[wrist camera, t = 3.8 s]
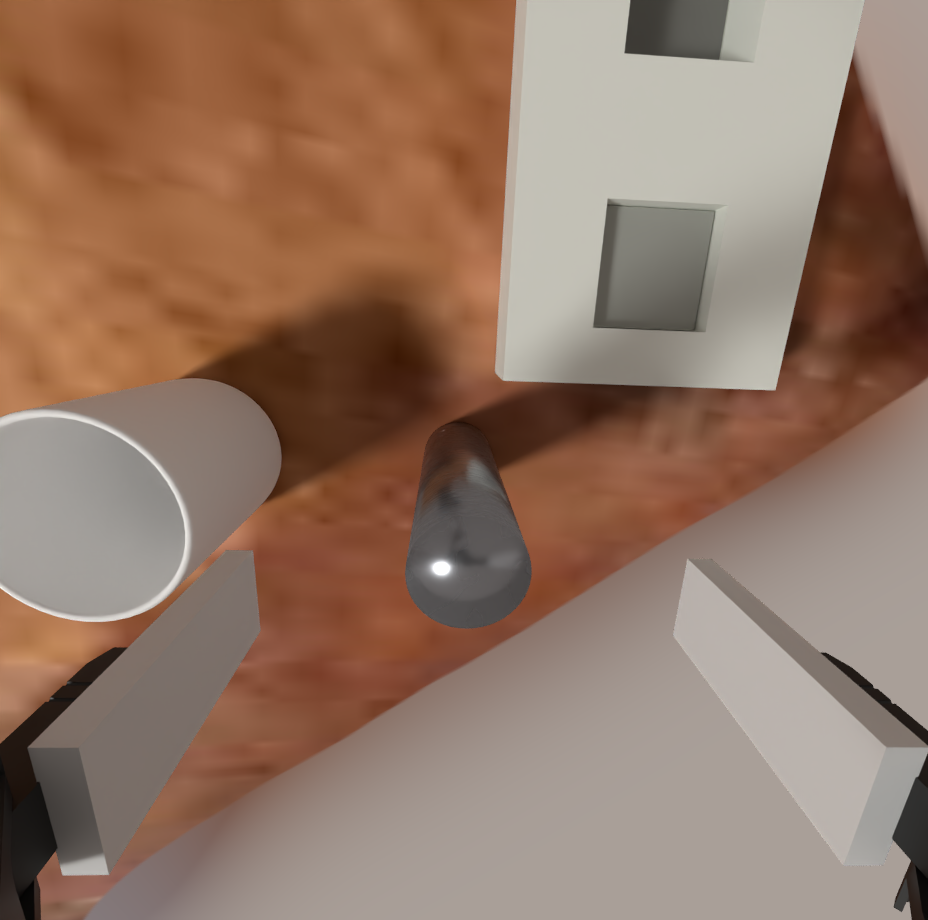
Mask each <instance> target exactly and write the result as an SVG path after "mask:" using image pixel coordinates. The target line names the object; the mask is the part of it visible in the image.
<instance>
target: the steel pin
mask: <svg viewBox="0 0 928 920" xmlns="http://www.w3.org/2000/svg"><path fill="white" fill-rule="evenodd" d="M405 576H406V584H407V588H408V591H409V594H410V596H411V598H412V599H413V601H414V603H415V604H416V605H417V607H418V608H419V609H420V610H421V611H422V612H423V613H424V614H426V615H427V616H428V617H430V618H431V619H433V620H435V621H437V622H439V623H441V624H444V625H447V626H450V627H456V628H478V627H483V626H487V625H490V624H493V623H495V622H497V621H499V620H501V619H503V618H504V617H506V616H507V615H509V614H510V613H511V612H512V611H513V610H514V609H516V607H517V606H518V605H519V604H520V603H521V601H522V600H523V598H524V597H525V595H526V593H527V590H528V588H529V585H530V580H531V561H530V557H529V554H528V551H527V548H526V546H525V543H524V540H523V537H522V535H521V532H520V529H519V526H518V523H517V521H516V518H515V515H514V512H513V510H512V507H511V504H510V501H509V499H508V496H507V493H506V490H505V488H504V485H503V482H502V479H501V477H500V474H499V471H498V468H497V466H496V463H495V460H494V457H493V455H492V452H491V449H490V446H489V444H488V441H487V439H486V437H485V436H484V435H483V433H482V432H481V431H480V430H479V429H477V428H476V427H474V426H472V425H470V424H467V423H462V422H453V423H448V424H445V425H443V426H441V427H439V428H438V429H437V430H435V431H434V432H433V433H432V435H431V436H430V437H429V439H428V441H427V444H426V447H425V452H424V458H423V464H422V470H421V477H420V483H419V489H418V495H417V501H416V507H415V513H414V519H413V526H412V532H411V538H410V544H409V550H408V556H407V562H406V571H405Z"/></svg>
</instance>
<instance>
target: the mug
mask: <svg viewBox="0 0 928 920" xmlns="http://www.w3.org/2000/svg"><path fill="white" fill-rule="evenodd" d="M281 460H282V456H281V446H280V442H279V438H278V435H277V432H276V430H275V428H274V426H273V424H272V422H271V420H270V419H269V417H268V416H267V414H266V413H265V412H264V411H263V410H262V408H261V407H260V406H259V405H258V404H257V403H256V402H255V401H254V400H253V399H251V398H250V397H249V396H247V395H246V394H245V393H243V392H241V391H239V390H238V389H236V388H234V387H232V386H229V385H227V384H224V383H221V382H218V381H213V380H208V379H200V378H187V379H176V380H170V381H165V382H161V383H156V384H151V385H146V386H141V387H136V388H131V389H126V390H121V391H116V392H111V393H106V394H102V395H97V396H92V397H87V398H82V399H77V400H72V401H67V402H62V403H57V404H52V405H47V406H43V407H38V408H33V409H28V410H23V411H19V412H14V413H10V414H8V415H5V416H3V417H0V588H1V589H2V590H4V591H5V592H7V593H8V594H9V595H11V596H12V597H14V598H16V599H17V600H19V601H21V602H23V603H24V604H26V605H28V606H30V607H33V608H35V609H37V610H39V611H42V612H45V613H48V614H51V615H54V616H57V617H61V618H66V619H70V620H77V621H85V622H104V621H115V620H119V619H124V618H128V617H131V616H134V615H137V614H140V613H143V612H145V611H147V610H149V609H151V608H153V607H155V606H156V605H158V604H159V603H160V602H162V601H163V600H165V599H166V598H167V597H168V596H169V595H170V594H171V593H172V592H173V591H174V590H175V589H176V588H177V587H178V586H179V585H180V584H181V583H182V582H183V581H184V580H185V579H186V578H187V577H188V576H189V575H190V574H191V573H192V572H194V571H195V570H196V569H197V568H198V567H199V566H200V565H201V564H202V563H203V562H204V561H205V560H206V559H207V558H208V557H209V556H210V555H211V554H212V553H213V552H214V551H215V550H216V549H217V548H218V547H219V546H220V545H221V544H222V543H223V542H224V541H225V540H226V539H227V538H228V537H229V536H230V535H231V534H232V533H233V532H234V531H235V530H236V529H237V528H238V527H239V526H240V525H241V524H242V523H243V522H244V521H246V520H247V519H248V518H249V517H250V516H251V515H252V514H253V513H254V512H255V511H256V510H257V509H258V508H259V507H260V506H261V505H262V504H263V502H264V501H265V500H266V499H267V497H268V496H269V495H270V494H271V492H272V490H273V488H274V487H275V485H276V482H277V479H278V477H279V473H280V469H281Z"/></svg>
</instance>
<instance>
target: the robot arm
mask: <svg viewBox="0 0 928 920" xmlns="http://www.w3.org/2000/svg"><path fill="white" fill-rule="evenodd" d="M259 633H260V621H259V611H258V600H257V590H256V579H255V568H254V558H253V551H249V550H226V551H225V552H224V553H223V554H222V555H221V556H220V557H219V558H218V559H217V560H216V561H215V562H214V563H213V564H212V565H211V566H210V567H209V568H208V569H207V570H206V571H205V572H204V573H203V574H202V575H201V576H200V577H199V578H198V579H197V580H196V581H195V582H194V583H193V584H192V585H191V586H190V587H189V588H188V589H187V590H186V591H185V592H184V593H183V594H182V595H181V596H180V597H179V598H178V599H177V600H176V601H175V602H174V603H173V604H172V605H171V606H169V607H168V608H167V609H166V610H165V611H164V612H163V613H162V614H161V615H160V616H159V617H158V618H157V619H156V620H155V621H154V622H153V623H152V624H151V625H150V626H149V627H148V628H147V629H146V630H145V631H144V632H143V633H142V634H141V635H140V636H139V637H138V638H137V639H136V640H135V641H134V642H133V643H132V644H131V645H130V646H129V647H128V648H116V647H114V648H112V649H111V650H109V651H107V652H105V653H104V654H102V655H100V656H99V657H97V658H95V659H94V660H92V661H90V662H89V663H87V664H86V665H85V666H84V667H83V668H82V669H81V670H80V671H78V672H77V673H76V674H75V675H74V676H73V677H72V678H71V679H70V680H69V681H68V682H67V685H66V686H62V687H61V688H60V689H59V690H58V691H57V692H56V693H55V694H54V695H53V696H51V697H50V700H49V702H45V703H44V704H43V705H42V706H41V707H40V708H38V709H37V710H36V711H35V712H34V713H33V714H32V715H31V716H30V717H29V718H28V719H27V720H25V721H24V722H23V723H22V724H21V725H20V726H19V727H18V728H17V729H16V730H15V731H14V732H13V733H11V734H10V735H9V736H8V737H7V738H6V739H5V740H4V741H3V742H2V743H1V744H0V920H41V907H40V887H39V884H38V881H37V877H36V876H37V875H38V873H39V872H40V871H41V869H42V868H43V867H44V865H45V864H46V863H47V861H48V860H49V859H50V857H51V856H52V855H53V853H54V852H55V851H56V853H57V857H58V860H59V864H60V867H61V871H62V875H109V874H110V872H111V871H112V869H113V867H114V866H115V864H116V863H117V861H118V859H119V858H120V856H121V855H122V853H123V851H124V850H125V848H126V847H127V845H128V843H129V842H130V840H131V838H132V837H133V835H134V834H135V832H136V830H137V829H138V827H139V826H140V824H141V822H142V821H143V819H144V818H145V816H146V814H147V813H148V811H149V810H150V808H151V806H152V805H153V803H154V801H155V800H156V798H157V797H158V795H159V793H160V792H161V790H162V789H163V787H164V785H165V784H166V782H167V781H168V779H169V777H170V776H171V774H172V773H173V771H174V769H175V768H176V766H177V764H178V763H179V761H180V760H181V758H182V756H183V755H184V753H185V752H186V750H187V748H188V747H189V745H190V744H191V742H192V740H193V739H194V737H195V736H196V734H197V732H198V731H199V729H200V727H201V726H202V724H203V723H204V721H205V719H206V718H207V716H208V715H209V713H210V711H211V710H212V708H213V707H214V705H215V703H216V702H217V700H218V698H219V697H220V695H221V694H222V692H223V690H224V689H225V687H226V686H227V684H228V682H229V681H230V679H231V678H232V676H233V674H234V673H235V671H236V670H237V668H238V666H239V665H240V663H241V661H242V660H243V658H244V657H245V655H246V653H247V652H248V650H249V649H250V647H251V645H252V644H253V642H254V641H255V639H256V637H257V636H258V634H259ZM673 636H674V638H675V639H676V640H677V642H678V643H679V644H680V645H681V647H682V648H683V650H684V651H685V653H686V654H687V655H688V657H689V658H690V659H691V661H692V662H693V663H694V665H695V666H696V667H697V669H698V670H699V671H700V673H701V674H702V675H703V677H704V678H705V680H706V681H707V682H708V683H709V685H710V686H711V688H712V689H713V690H714V692H715V693H716V694H717V696H718V697H719V698H720V700H721V701H722V702H723V704H724V705H725V707H726V708H727V709H728V710H729V712H730V713H731V715H732V716H733V717H734V719H735V720H736V721H737V723H738V724H739V725H740V727H741V728H742V729H743V731H744V732H745V733H746V735H747V736H748V738H749V739H750V740H751V742H752V743H753V744H754V745H755V747H756V748H757V750H758V751H759V752H760V754H761V755H762V756H763V758H764V759H765V761H766V762H767V763H768V765H769V766H770V767H771V769H772V770H773V771H774V773H775V774H776V775H777V777H778V778H779V779H780V781H781V782H782V783H783V784H784V786H785V787H786V789H787V790H788V791H789V793H790V794H791V796H792V797H793V798H794V800H795V801H796V802H797V804H798V805H799V806H800V808H801V809H802V810H803V812H804V813H805V815H806V816H807V817H808V819H809V820H810V821H811V823H812V824H813V825H814V827H815V828H816V829H817V831H818V832H819V833H820V835H821V836H822V837H823V839H824V840H825V842H826V843H827V844H828V846H829V847H830V848H831V850H832V851H833V852H834V854H835V855H836V856H837V858H838V859H839V860H840V862H841V863H842V864H843V866H867V865H869V866H871V865H883V864H884V862H885V860H886V857H887V855H888V852H889V849H890V847H891V844H892V842H893V840H894V841H895V842H896V844H897V845H898V846H899V847H900V848H901V849H902V850H903V852H905V854H906V855H907V856H908V857H909V858H910V860H911V862H910V865H909V867H908V869H907V872H906V874H905V876H904V879H903V881H902V884H901V886H900V888H899V891H898V893H897V896H896V899H895V904H894V908H896V909H898V910H899V911H901V912H902V911H903V908H904V906H905V904H906V902H910V909H911V917H912V920H928V731H927V730H926V729H925V728H923V726H921V725H920V724H919V723H918V722H917V721H915V720H914V719H913V718H912V717H911V716H909V715H908V714H907V713H906V712H905V711H903V710H902V709H901V708H900V707H899V706H897V705H896V704H892V703H891V700H890V699H889V698H888V697H886V696H885V695H884V694H883V693H882V692H880V691H879V690H878V689H874V688H873V685H872V684H871V683H870V682H868V681H867V680H866V679H865V678H864V677H863V676H861V675H860V674H859V673H858V672H856V671H855V670H854V669H853V668H851V667H850V666H848V665H846V664H845V663H843V662H841V661H839V660H838V659H836V658H834V657H832V656H831V655H829V654H827V653H820V652H819V651H818V650H816V649H815V648H814V647H813V646H811V644H809V643H808V642H807V641H806V640H805V639H804V638H803V637H801V636H800V635H799V634H798V633H797V632H795V631H794V630H793V629H792V628H791V627H790V626H789V625H787V624H786V623H785V622H784V621H783V620H782V619H780V618H779V617H778V616H777V615H776V614H774V612H772V611H771V610H770V609H769V608H768V607H767V606H765V605H764V604H763V603H762V602H761V601H760V600H758V599H757V598H756V597H755V596H754V595H753V594H752V593H750V592H749V591H748V590H747V589H746V588H745V587H743V586H742V585H741V584H740V583H739V582H737V581H736V580H735V579H734V578H733V577H732V576H731V575H730V574H728V573H727V572H726V571H725V570H724V569H723V568H721V567H720V566H719V565H718V564H717V563H716V562H714V561H713V560H712V559H687V564H686V569H685V575H684V580H683V585H682V591H681V596H680V601H679V606H678V612H677V617H676V622H675V628H674V633H673Z"/></svg>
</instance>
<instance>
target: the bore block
mask: <svg viewBox="0 0 928 920" xmlns="http://www.w3.org/2000/svg"><path fill="white" fill-rule="evenodd" d="M864 3H865V0H516V17H515V34H514V52H513V69H512V86H511V103H510V121H509V138H508V155H507V173H506V190H505V207H504V225H503V242H502V259H501V276H500V294H499V311H498V328H497V346H496V363H495V373H496V374H497V375H498V376H499V377H500V378H501V379H502V380H503V381H528V382H556V383H584V384H613V385H641V386H669V387H697V388H725V389H753V390H775V389H776V385H777V380H778V376H779V372H780V367H781V363H782V359H783V354H784V350H785V346H786V341H787V337H788V333H789V328H790V324H791V320H792V315H793V311H794V307H795V302H796V298H797V294H798V289H799V285H800V281H801V276H802V272H803V268H804V263H805V259H806V254H807V250H808V246H809V241H810V237H811V233H812V228H813V224H814V220H815V215H816V211H817V207H818V202H819V198H820V194H821V189H822V185H823V181H824V176H825V172H826V168H827V163H828V159H829V155H830V150H831V146H832V142H833V137H834V133H835V129H836V124H837V120H838V116H839V111H840V107H841V103H842V98H843V94H844V90H845V85H846V81H847V77H848V72H849V68H850V64H851V59H852V55H853V51H854V46H855V42H856V38H857V33H858V29H859V24H860V20H861V16H862V12H863V7H864Z"/></svg>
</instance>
